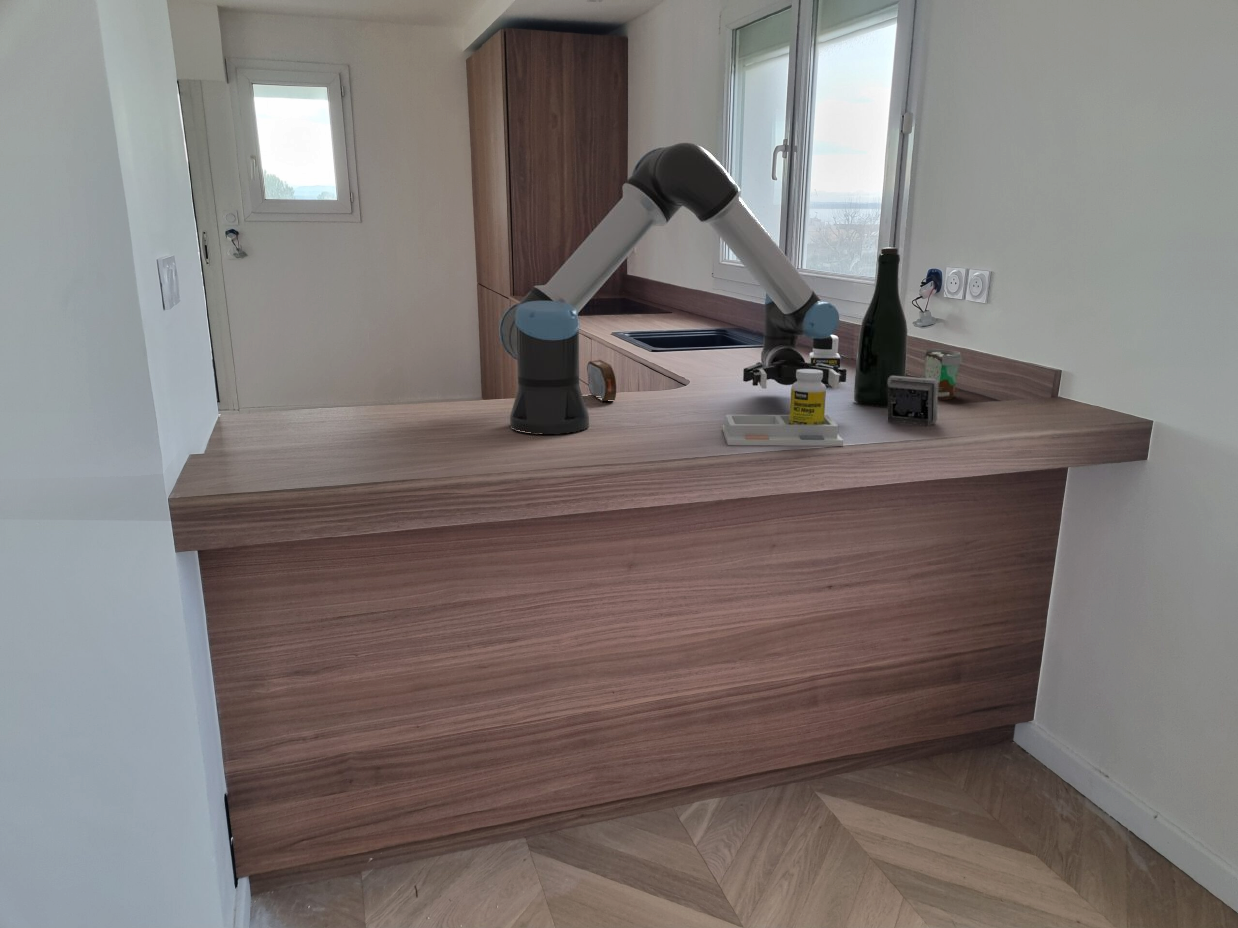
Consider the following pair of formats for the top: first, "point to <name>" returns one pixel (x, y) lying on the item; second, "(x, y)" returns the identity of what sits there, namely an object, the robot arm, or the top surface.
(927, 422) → the electrical switch
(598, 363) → the tin
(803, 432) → the socket board
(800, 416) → the pill bottle
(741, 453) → the top surface
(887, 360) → the dark green wine bottle
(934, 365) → the food container
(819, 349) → the medicine bottle
